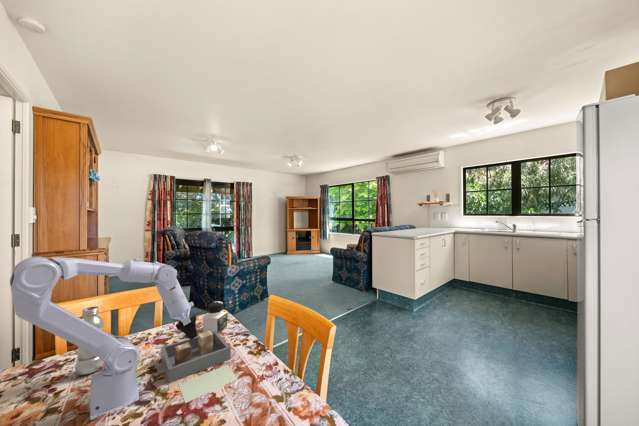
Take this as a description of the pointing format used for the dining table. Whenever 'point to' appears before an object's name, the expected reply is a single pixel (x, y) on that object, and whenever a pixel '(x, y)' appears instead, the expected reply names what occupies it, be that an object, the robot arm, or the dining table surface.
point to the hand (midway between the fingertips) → (190, 332)
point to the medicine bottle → (215, 318)
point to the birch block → (205, 342)
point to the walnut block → (182, 353)
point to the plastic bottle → (85, 358)
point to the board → (206, 383)
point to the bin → (194, 358)
